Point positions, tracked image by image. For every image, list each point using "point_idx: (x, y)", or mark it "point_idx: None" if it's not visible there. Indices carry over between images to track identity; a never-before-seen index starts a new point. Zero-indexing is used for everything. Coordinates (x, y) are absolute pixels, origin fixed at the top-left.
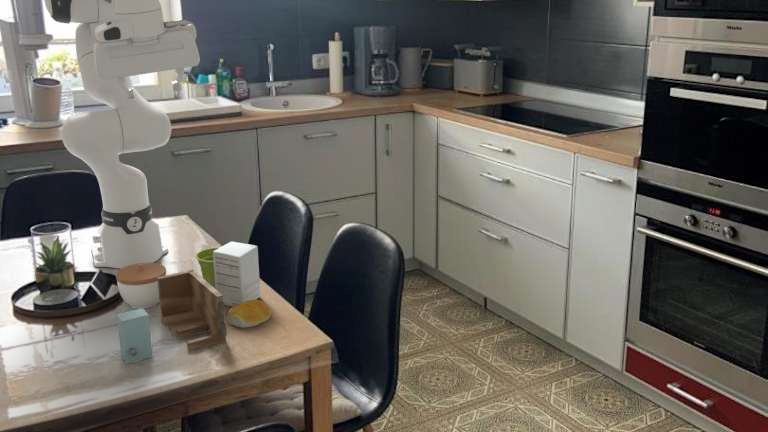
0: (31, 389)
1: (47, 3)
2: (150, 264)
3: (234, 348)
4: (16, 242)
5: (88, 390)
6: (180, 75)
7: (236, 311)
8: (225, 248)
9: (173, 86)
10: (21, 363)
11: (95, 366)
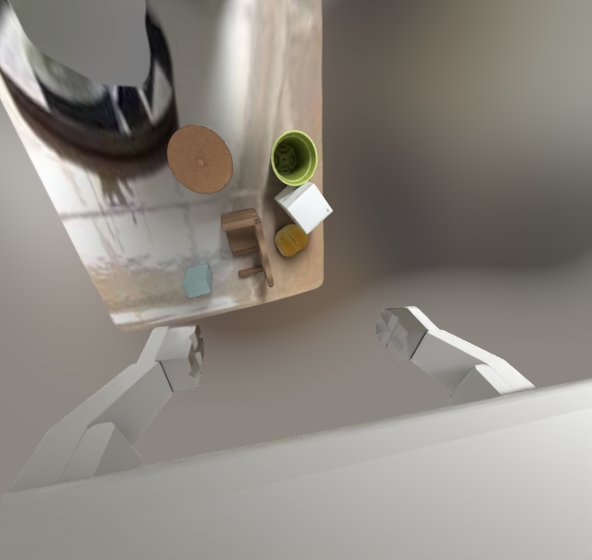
0: (120, 295)
1: None
2: (213, 143)
3: None
4: None
5: (167, 305)
6: (448, 388)
7: (282, 249)
8: (301, 206)
9: (393, 323)
10: (93, 253)
11: (167, 276)
